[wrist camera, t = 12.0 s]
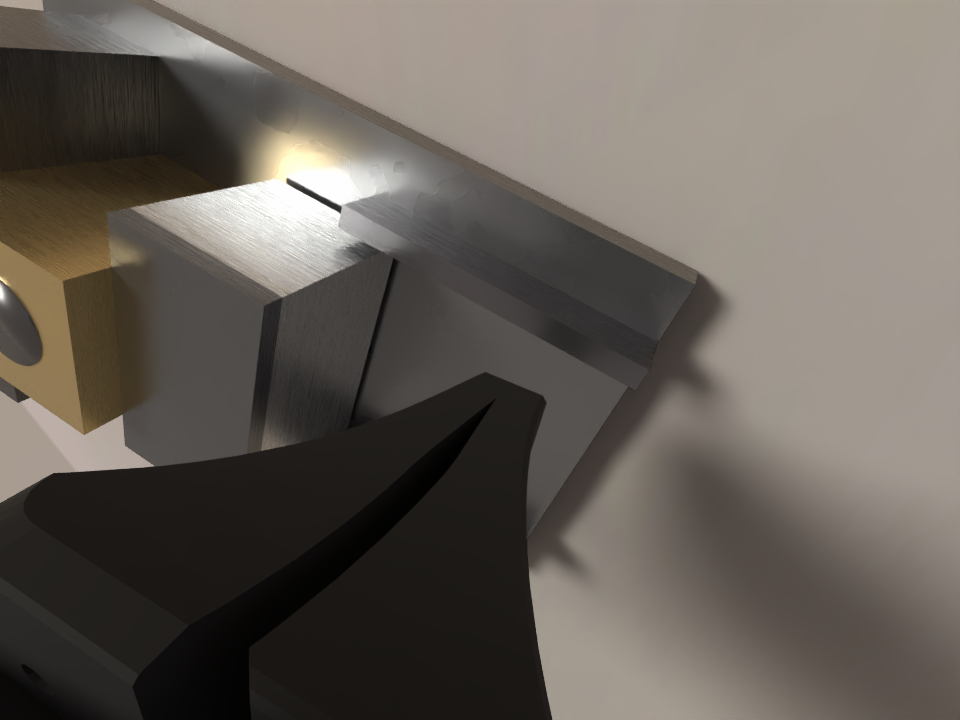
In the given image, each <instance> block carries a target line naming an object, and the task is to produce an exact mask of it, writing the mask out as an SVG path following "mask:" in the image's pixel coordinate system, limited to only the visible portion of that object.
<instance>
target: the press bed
mask: <svg viewBox="0 0 960 720" xmlns="http://www.w3.org/2000/svg"><path fill="white" fill-rule="evenodd" d="M43 8H44V11H40V10H31V9H22V8H13V7H4V6H0V173H3V172H12V171H21V170H29V169H38V168H47V167H55V166H64V165H73V164H81V163H90V162H99V161H107V160H116V159H125V158H133V157H142V156H151V155H159V154H161V155H163V156H164V157H166V158H168V159H170V160H172V161H173V162H175V163H177V164H179V165H180V166H182V167H184V168H186V169H188V170H189V171H191V172H193V173H195V174H197V175H198V176H200V177H202V178H204V179H206V180H207V181H209V182H211V183H213V184H214V185H216V186H218V187H220V188H222V189H228V188H233V187H238V186H243V185H248V184H253V183H258V182H263V181H268V180H273V179H278V180H280V181H282V182H284V183H286V184H287V185H289V186H291V187H293V188H295V189H297V190H298V191H300V192H302V193H304V194H306V195H308V196H310V197H311V198H313V199H315V200H317V201H319V202H321V203H322V204H324V205H326V206H328V207H330V208H332V209H333V210H335V211H337V212H339V213H341V215H340V220H339V225H338V228H340V229H341V230H343V231H345V232H347V233H349V234H351V235H352V236H354V237H356V238H358V239H360V240H362V241H363V242H365V243H367V244H369V245H371V246H372V247H374V248H376V249H378V250H380V251H382V252H383V253H385V254H387V255H389V256H391V257H393V261H392V265H391V269H390V272H389V276H388V280H387V284H386V287H385V291H384V295H383V298H382V302H381V306H380V310H379V313H378V317H377V321H376V324H375V328H374V332H373V335H372V339H371V343H370V347H369V350H368V354H367V358H366V361H365V365H364V369H363V372H362V376H361V380H360V384H359V387H358V391H357V395H356V398H355V402H354V406H353V409H352V413H351V417H350V421H349V424H348V427H347V428H346V429H345V430H348V429H351V428H354V427H357V426H360V425H363V424H366V423H368V422H371V421H373V420H376V419H379V418H381V417H384V416H387V415H389V414H392V413H395V412H397V411H400V410H402V409H405V408H407V407H409V406H411V405H414V404H416V403H418V402H421V401H423V400H425V399H427V398H430V397H432V396H434V395H436V394H439V393H441V392H443V391H445V390H447V389H449V388H451V387H453V386H456V385H458V384H460V383H462V382H464V381H466V380H468V379H470V378H472V377H475V376H477V375H479V374H481V373H484V372H487V373H489V374H492V375H494V376H497V377H499V378H501V379H504V380H506V381H509V382H511V383H514V384H516V385H518V386H521V387H523V388H526V389H528V390H531V391H533V392H536V393H538V394H540V395H543V396H544V398H545V400H546V402H547V404H546V407H545V410H544V413H543V416H542V419H541V422H540V425H539V428H538V431H537V435H536V438H535V441H534V444H533V447H532V450H531V453H530V461H529V470H528V481H527V504H526V532H527V538H528V537H529V535H530V534H531V532H532V531H533V529H534V528H535V526H536V525H537V523H538V522H539V520H540V519H541V517H542V516H543V514H544V513H545V511H546V510H547V508H548V507H549V505H550V503H551V502H552V500H553V499H554V497H555V496H556V494H557V493H558V491H559V490H560V488H561V487H562V485H563V484H564V482H565V481H566V479H567V478H568V476H569V475H570V473H571V472H572V470H573V469H574V467H575V466H576V464H577V463H578V461H579V460H580V458H581V457H582V455H583V454H584V452H585V451H586V449H587V448H588V446H589V445H590V443H591V442H592V440H593V439H594V437H595V436H596V434H597V433H598V431H599V430H600V428H601V427H602V425H603V424H604V422H605V421H606V419H607V418H608V416H609V415H610V413H611V412H612V410H613V409H614V407H615V406H616V404H617V403H618V401H619V400H620V398H621V397H622V395H623V394H624V392H625V391H626V389H627V388H628V387H630V388H631V389H633V390H635V391H636V389H637V388H638V386H639V385H640V383H641V382H642V380H643V379H644V377H645V376H646V374H647V373H648V372H649V370H650V367H651V363H652V360H653V356H654V353H655V349H656V346H657V343H658V341H659V339H660V338H661V336H662V335H663V333H664V332H665V330H666V329H667V327H668V326H669V324H670V323H671V321H672V320H673V318H674V317H675V315H676V314H677V312H678V311H679V309H680V308H681V306H682V305H683V303H684V302H685V300H686V299H687V297H688V296H689V294H690V293H691V291H692V290H693V288H694V287H695V285H696V280H697V275H698V272H697V271H695V270H693V269H691V268H689V267H687V266H685V265H683V264H681V263H679V262H677V261H675V260H673V259H671V258H669V257H667V256H665V255H663V254H661V253H659V252H657V251H655V250H653V249H651V248H649V247H647V246H645V245H643V244H641V243H639V242H637V241H635V240H633V239H631V238H629V237H627V236H625V235H623V234H621V233H619V232H617V231H615V230H613V229H611V228H609V227H607V226H605V225H603V224H601V223H599V222H597V221H595V220H593V219H591V218H589V217H587V216H585V215H583V214H581V213H579V212H577V211H575V210H573V209H571V208H569V207H567V206H565V205H563V204H561V203H559V202H557V201H555V200H553V199H551V198H549V197H547V196H544V195H542V194H540V193H538V192H536V191H534V190H532V189H530V188H528V187H526V186H524V185H522V184H520V183H518V182H516V181H514V180H512V179H510V178H508V177H506V176H504V175H502V174H500V173H498V172H496V171H494V170H492V169H490V168H488V167H486V166H484V165H482V164H480V163H478V162H476V161H474V160H472V159H470V158H468V157H466V156H464V155H462V154H460V153H458V152H456V151H454V150H452V149H450V148H448V147H446V146H444V145H442V144H440V143H438V142H436V141H434V140H432V139H430V138H428V137H426V136H424V135H422V134H420V133H418V132H416V131H414V130H412V129H410V128H408V127H406V126H404V125H402V124H400V123H398V122H396V121H394V120H392V119H390V118H388V117H386V116H384V115H382V114H380V113H378V112H376V111H373V110H371V109H369V108H367V107H365V106H363V105H361V104H359V103H357V102H355V101H353V100H351V99H349V98H347V97H345V96H343V95H341V94H339V93H337V92H335V91H333V90H331V89H329V88H327V87H325V86H323V85H321V84H319V83H317V82H315V81H313V80H311V79H309V78H307V77H305V76H303V75H301V74H299V73H297V72H295V71H293V70H291V69H289V68H287V67H285V66H283V65H281V64H279V63H277V62H275V61H273V60H271V59H269V58H267V57H265V56H263V55H261V54H259V53H257V52H255V51H253V50H251V49H249V48H247V47H245V46H243V45H241V44H239V43H237V42H235V41H233V40H231V39H229V38H227V37H225V36H223V35H221V34H219V33H217V32H215V31H213V30H211V29H209V28H207V27H205V26H202V25H200V24H198V23H196V22H194V21H192V20H190V19H188V18H186V17H184V16H182V15H180V14H178V13H176V12H174V11H172V10H170V9H168V8H166V7H164V6H162V5H160V4H158V3H156V2H154V1H152V0H43ZM0 391H2V392H3V393H5V394H6V395H7V396H9V397H10V398H12V399H13V400H14V401H16V402H17V403H19V402H21V401H23V400H26V399H28V398H30V397H29V396H27V395H26V394H24V393H23V392H22V391H20V390H19V389H17V388H16V387H14V386H13V385H12V384H10V383H9V382H7V381H6V380H4V379H3V378H1V377H0Z"/></svg>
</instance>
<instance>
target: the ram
mask: <svg viewBox="0 0 960 720" xmlns="http://www.w3.org/2000/svg"><path fill="white" fill-rule="evenodd" d="M340 215H341V213H339V212H337V211H335V210H333V209H332V208H330V207H328V206H326V205H324V204H322V203H321V202H319V201H317V200H315V199H313V198H311V197H310V196H308V195H306V194H304V193H302V192H300V191H298V190H297V189H295V188H293V187H291V186H289V185H287V184H286V183H284V182H282V181H280V180H278V179H273V180H268V181H263V182H258V183H253V184H248V185H243V186H238V187H233V188H228V189H223V190H218V191H213V192H208V193H203V194H198V195H193V196H187V197H182V198H177V199H172V200H167V201H162V202H157V203H152V204H147V205H142V206H137V207H132V208H127V209H122V210H117V211H112V212H107V220H108V233H109V245H110V258H111V271H112V284H113V297H114V310H115V322H116V335H117V348H118V361H119V374H120V387H121V399H122V412H123V425H124V438H125V446H126V447H128V448H129V449H131V450H132V451H134V452H135V453H137V454H138V455H140V456H141V457H142V458H144V459H145V460H147V461H148V462H150V463H151V464H153V465H154V466H165V465H173V464H182V463H190V462H198V461H205V460H212V459H219V458H225V457H232V456H238V455H243V454H248V453H253V452H258V451H263V450H268V449H273V448H278V447H282V446H287V445H292V444H297V443H301V442H305V441H309V440H313V439H316V438H320V437H324V436H327V435H331V434H335V433H338V432H341V431H344V430H345V429H346V428H347V427H348V424H349V421H350V417H351V413H352V409H353V406H354V402H355V398H356V395H357V391H358V387H359V384H360V380H361V376H362V372H363V369H364V365H365V361H366V358H367V354H368V350H369V347H370V343H371V339H372V335H373V332H374V328H375V324H376V321H377V317H378V313H379V310H380V306H381V302H382V298H383V295H384V291H385V287H386V284H387V280H388V276H389V272H390V269H391V265H392V261H393V257H391V256H389V255H387V254H385V253H383V252H382V251H380V250H378V249H376V248H374V247H372V246H371V245H369V244H367V243H365V242H363V241H362V240H360V239H358V238H356V237H354V236H352V235H351V234H349V233H347V232H345V231H343V230H341V229H340V228H338V225H339V220H340Z"/></svg>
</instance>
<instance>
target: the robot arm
mask: <svg viewBox="0 0 960 720" xmlns="http://www.w3.org/2000/svg"><path fill="white" fill-rule="evenodd" d="M546 404H547V402H546V400H545V398H544V396H543V395H540V394H538V393H536V392H533V391H531V390H528V389H526V388H523V387H521V386H518V385H516V384H514V383H511V382H509V381H506V380H504V379H501V378H499V377H497V376H494V375H492V374H489V373H487V372H484V373H481V374H479V375H477V376H475V377H472V378H470V379H468V380H466V381H464V382H462V383H460V384H458V385H456V386H453V387H451V388H449V389H447V390H445V391H443V392H441V393H439V394H436V395H434V396H432V397H430V398H427V399H425V400H423V401H421V402H418V403H416V404H414V405H411V406H409V407H407V408H405V409H402V410H400V411H397V412H395V413H392V414H389V415H387V416H384V417H381V418H379V419H376V420H373V421H371V422H368V423H366V424H363V425H360V426H357V427H354V428H351V429H348V430H344V431H341V432H338V433H335V434H331V435H327V436H324V437H320V438H316V439H313V440H309V441H305V442H301V443H297V444H292V445H287V446H282V447H278V448H273V449H268V450H263V451H258V452H253V453H248V454H243V455H238V456H232V457H225V458H219V459H212V460H205V461H198V462H190V463H182V464H173V465H165V466H155V467H145V468H131V469H116V470H101V471H87V472H70V473H53V474H51V475H49V476H48V477H46V478H44V479H42V480H40V481H39V482H37V483H35V484H33V485H31V486H30V487H28V488H26V489H25V490H23V491H21V492H19V493H17V494H16V495H14V496H12V497H10V498H8V499H7V500H5V501H3V502H1V503H0V720H552V716H551V711H550V706H549V702H548V697H547V692H546V687H545V681H544V676H543V671H542V665H541V660H540V654H539V649H538V642H537V635H536V627H535V620H534V613H533V605H532V598H531V590H530V580H529V568H528V555H527V532H526V504H527V481H528V470H529V461H530V453H531V450H532V447H533V444H534V441H535V438H536V435H537V431H538V428H539V425H540V422H541V419H542V416H543V413H544V410H545V407H546Z"/></svg>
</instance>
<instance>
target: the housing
mask: <svg viewBox="0 0 960 720" xmlns="http://www.w3.org/2000/svg"><path fill="white" fill-rule="evenodd" d="M218 190H223V189H222V188H220V187H218V186H216V185H214V184H213V183H211V182H209V181H207V180H206V179H204V178H202V177H200V176H198V175H197V174H195V173H193V172H191V171H189V170H188V169H186V168H184V167H182V166H180V165H179V164H177V163H175V162H173V161H172V160H170V159H168V158H166V157H164V156H163V155H161V154H159V155H151V156H142V157H133V158H125V159H116V160H107V161H99V162H90V163H81V164H73V165H64V166H55V167H47V168H38V169H29V170H21V171H12V172H3V173H0V377H1V378H3V379H4V380H6V381H7V382H9V383H10V384H12V385H13V386H14V387H16V388H17V389H19V390H20V391H22V392H23V393H24V394H26V395H27V396H29V397H30V398H32V399H33V400H35V401H36V402H37V403H39V404H40V405H42V406H43V407H45V408H46V409H48V410H49V411H50V412H52V413H53V414H55V415H56V416H58V417H59V418H60V419H62V420H63V421H65V422H66V423H68V424H69V425H71V426H72V427H73V428H75V429H76V430H78V431H79V432H81V433H82V434H84V435H85V434H87V433H89V432H91V431H92V430H94V429H96V428H98V427H100V426H102V425H104V424H106V423H107V422H109V421H111V420H113V419H115V418H117V417H119V416H120V415H122V414H123V412H122V399H121V387H120V374H119V361H118V348H117V335H116V322H115V310H114V297H113V284H112V271H111V258H110V245H109V233H108V220H107V212H112V211H117V210H122V209H127V208H132V207H137V206H142V205H147V204H152V203H157V202H162V201H167V200H172V199H177V198H182V197H187V196H193V195H198V194H203V193H208V192H213V191H218Z"/></svg>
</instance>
